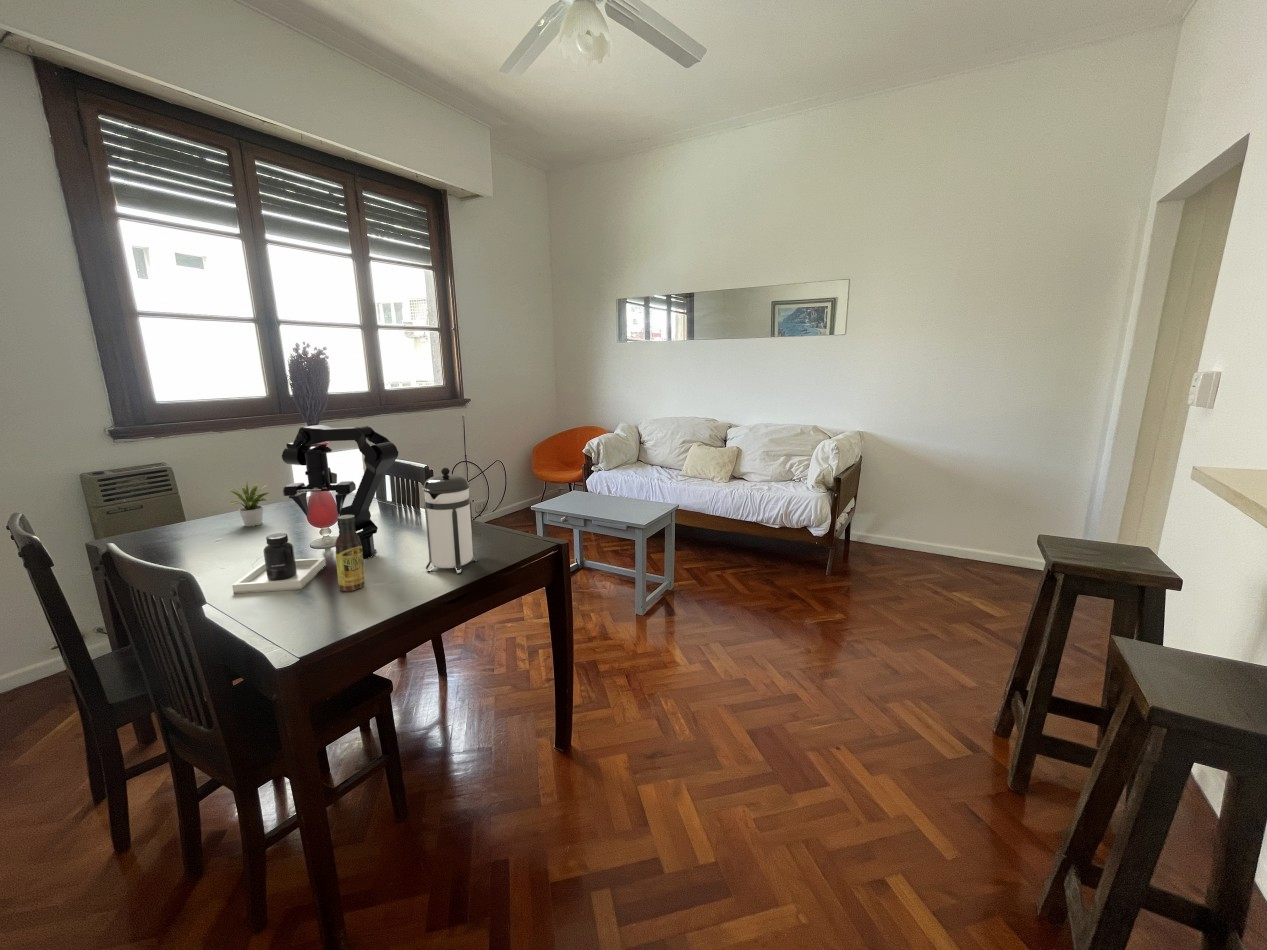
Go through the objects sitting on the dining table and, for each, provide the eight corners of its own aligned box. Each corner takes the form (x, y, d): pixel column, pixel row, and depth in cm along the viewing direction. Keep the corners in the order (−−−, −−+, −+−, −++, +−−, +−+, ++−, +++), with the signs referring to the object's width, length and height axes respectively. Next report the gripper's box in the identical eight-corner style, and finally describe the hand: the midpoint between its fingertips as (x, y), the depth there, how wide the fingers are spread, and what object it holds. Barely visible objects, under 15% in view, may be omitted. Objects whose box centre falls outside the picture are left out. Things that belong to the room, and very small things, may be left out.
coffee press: (488, 569, 147) (482, 469, 141) (430, 580, 139) (421, 475, 133) (473, 550, 162) (467, 459, 155) (420, 559, 154) (411, 464, 147)
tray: (325, 565, 149) (324, 557, 148) (301, 589, 133) (300, 580, 133) (265, 569, 146) (264, 561, 145) (233, 593, 130) (232, 584, 130)
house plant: (236, 534, 175) (228, 488, 171) (218, 527, 182) (210, 483, 178) (281, 523, 187) (275, 480, 183) (263, 517, 194) (256, 476, 190)
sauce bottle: (347, 594, 130) (337, 522, 126) (334, 589, 134) (324, 518, 129) (371, 585, 136) (363, 515, 131) (358, 580, 139) (350, 511, 135)
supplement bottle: (275, 583, 135) (268, 541, 132) (262, 578, 138) (255, 537, 136) (302, 574, 141) (296, 534, 138) (289, 569, 144) (283, 530, 142)
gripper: (358, 460, 164) (364, 506, 167) (295, 462, 160) (302, 508, 164) (346, 467, 153) (352, 516, 156) (278, 469, 150) (286, 519, 153)
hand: (323, 514), depth 158 cm, fingers open, 9 cm apart
